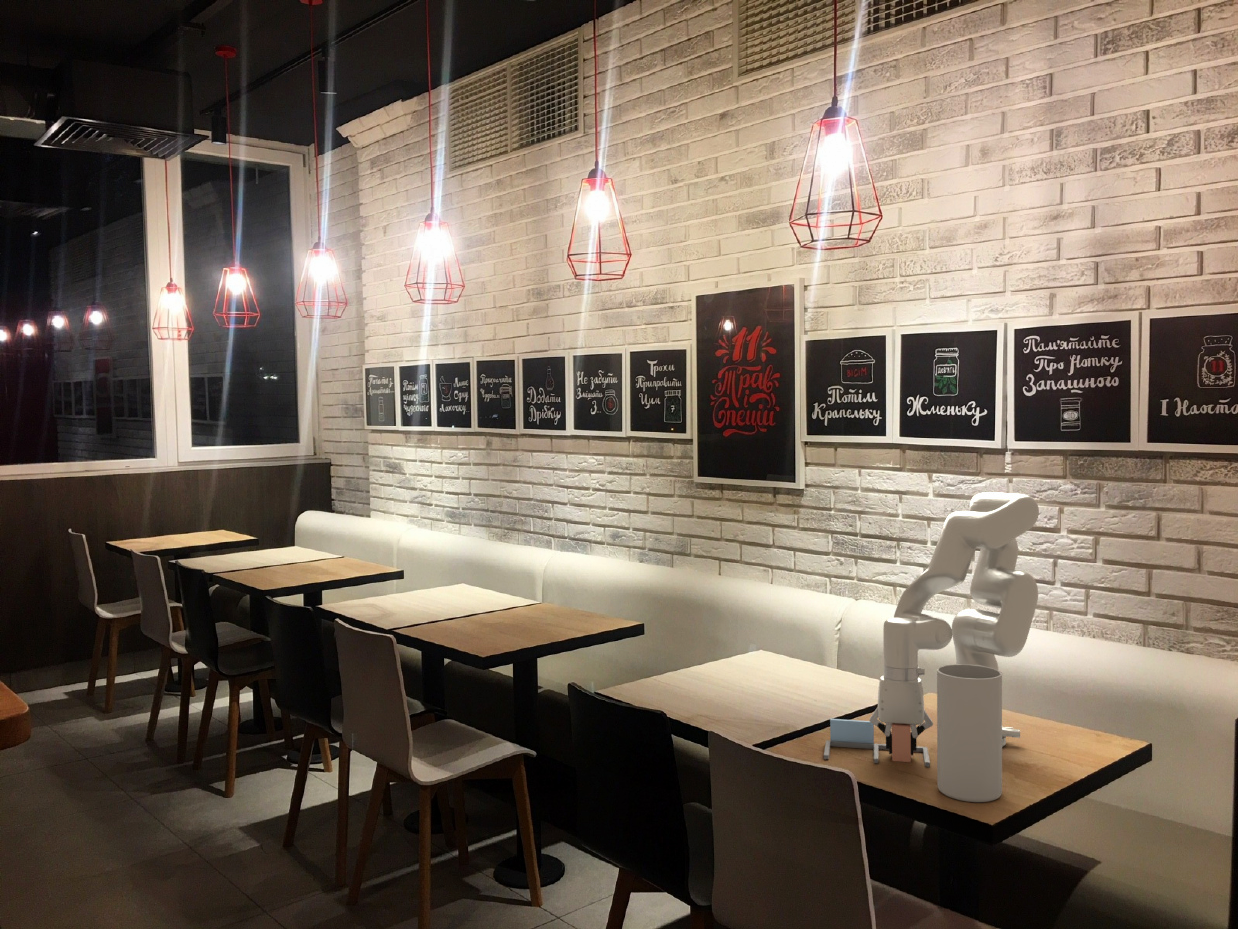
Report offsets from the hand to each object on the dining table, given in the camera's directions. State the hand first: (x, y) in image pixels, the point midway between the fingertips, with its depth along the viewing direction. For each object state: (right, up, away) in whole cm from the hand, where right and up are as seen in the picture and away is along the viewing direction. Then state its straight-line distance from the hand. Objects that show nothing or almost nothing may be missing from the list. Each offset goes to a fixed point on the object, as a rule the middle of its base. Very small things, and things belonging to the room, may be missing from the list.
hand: (901, 752), depth 221 cm
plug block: (0, -1, 0) cm, 1 cm away
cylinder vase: (+8, -2, -22) cm, 23 cm away
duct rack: (-5, -1, +2) cm, 6 cm away
